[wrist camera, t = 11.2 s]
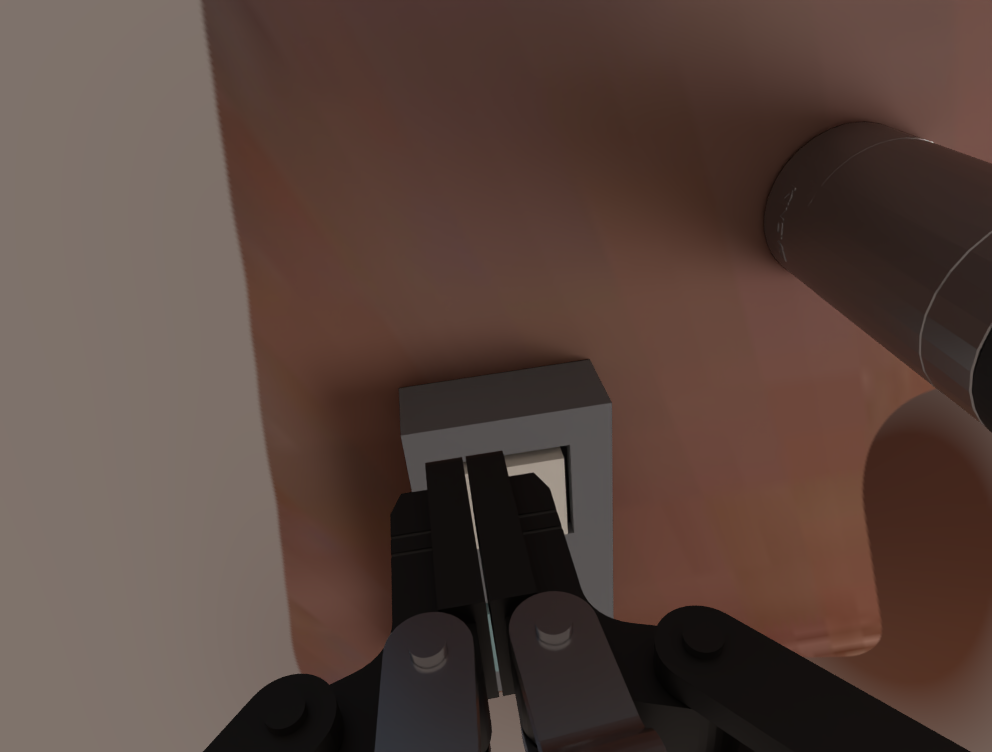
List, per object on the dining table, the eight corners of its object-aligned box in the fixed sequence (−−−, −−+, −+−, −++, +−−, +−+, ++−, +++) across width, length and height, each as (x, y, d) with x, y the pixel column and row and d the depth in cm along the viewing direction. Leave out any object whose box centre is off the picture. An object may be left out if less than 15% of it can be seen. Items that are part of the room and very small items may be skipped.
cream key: (553, 428, 44) (564, 458, 41) (557, 502, 47) (567, 533, 44) (456, 443, 43) (461, 474, 41) (467, 517, 47) (472, 549, 44)
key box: (589, 359, 45) (611, 402, 40) (596, 616, 57) (613, 669, 53) (398, 388, 44) (400, 435, 40) (448, 642, 56) (453, 699, 52)
